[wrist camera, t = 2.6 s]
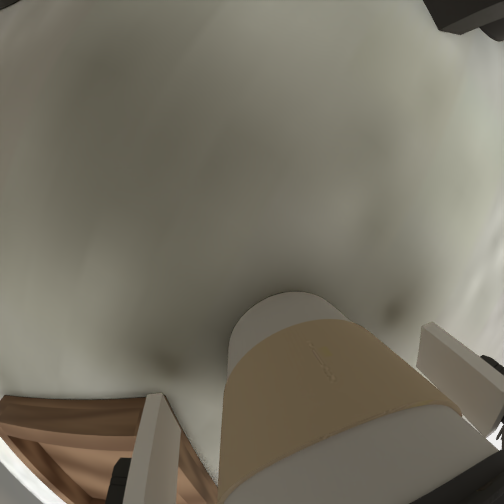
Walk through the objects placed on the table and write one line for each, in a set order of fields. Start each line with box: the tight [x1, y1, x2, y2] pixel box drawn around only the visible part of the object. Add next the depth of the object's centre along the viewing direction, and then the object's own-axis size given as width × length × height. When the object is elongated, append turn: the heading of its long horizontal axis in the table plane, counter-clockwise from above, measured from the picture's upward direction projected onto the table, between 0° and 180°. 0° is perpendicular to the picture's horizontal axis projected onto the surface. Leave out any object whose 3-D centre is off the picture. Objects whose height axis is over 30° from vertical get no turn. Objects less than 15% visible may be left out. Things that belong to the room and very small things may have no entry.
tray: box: [0, 395, 218, 504], centre depth 16 cm, size 16×16×4 cm
